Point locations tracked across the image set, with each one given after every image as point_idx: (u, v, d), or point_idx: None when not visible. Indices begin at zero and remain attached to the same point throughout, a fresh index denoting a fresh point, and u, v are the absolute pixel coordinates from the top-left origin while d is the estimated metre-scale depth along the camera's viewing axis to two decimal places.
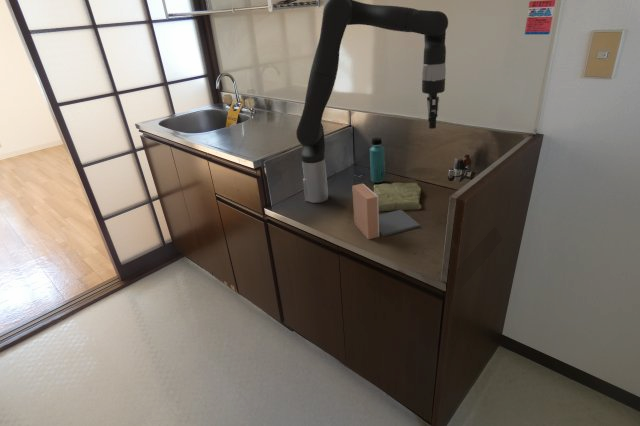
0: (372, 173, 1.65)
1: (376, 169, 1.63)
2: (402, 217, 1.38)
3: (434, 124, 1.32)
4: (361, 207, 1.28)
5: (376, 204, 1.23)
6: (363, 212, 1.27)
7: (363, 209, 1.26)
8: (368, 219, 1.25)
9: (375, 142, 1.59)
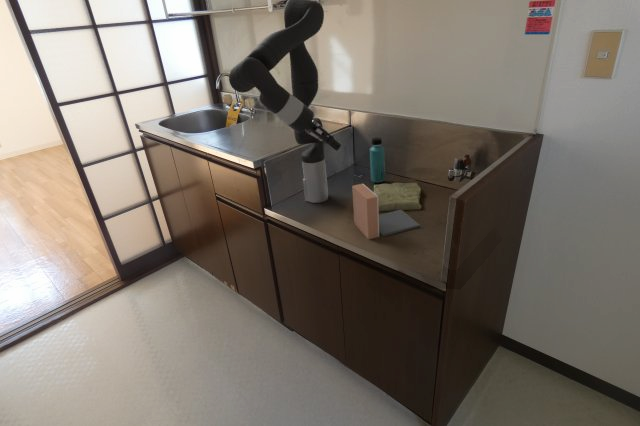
0: (372, 173, 1.65)
1: (376, 169, 1.63)
2: (402, 217, 1.38)
3: None
4: (361, 207, 1.28)
5: (376, 204, 1.23)
6: (363, 212, 1.27)
7: (363, 209, 1.26)
8: (368, 219, 1.25)
9: (375, 142, 1.59)
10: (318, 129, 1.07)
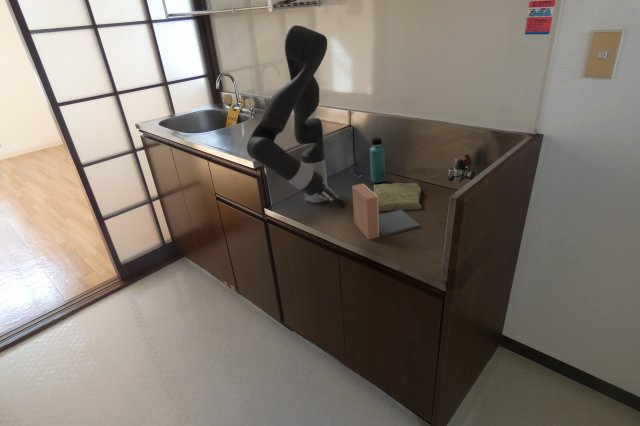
0: (372, 173, 1.65)
1: (376, 169, 1.63)
2: (402, 217, 1.38)
3: None
4: (361, 207, 1.28)
5: (376, 204, 1.23)
6: (363, 212, 1.27)
7: (363, 209, 1.26)
8: (368, 219, 1.25)
9: (375, 142, 1.59)
10: (332, 198, 1.17)
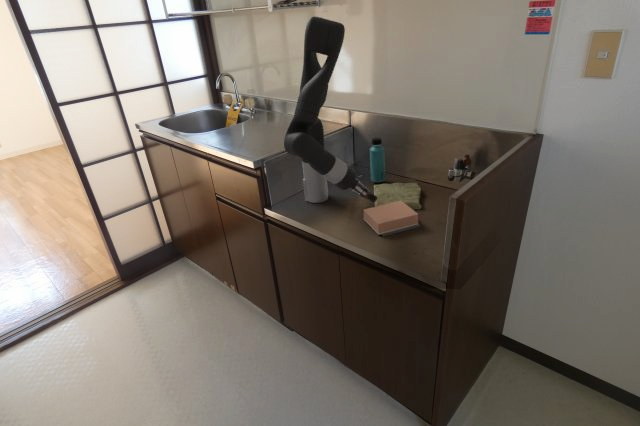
0: (372, 173, 1.65)
1: (376, 169, 1.63)
2: None
3: None
4: (397, 211, 1.33)
5: (411, 224, 1.31)
6: (396, 214, 1.32)
7: (400, 213, 1.32)
8: (398, 219, 1.29)
9: (375, 142, 1.59)
10: (365, 193, 1.20)
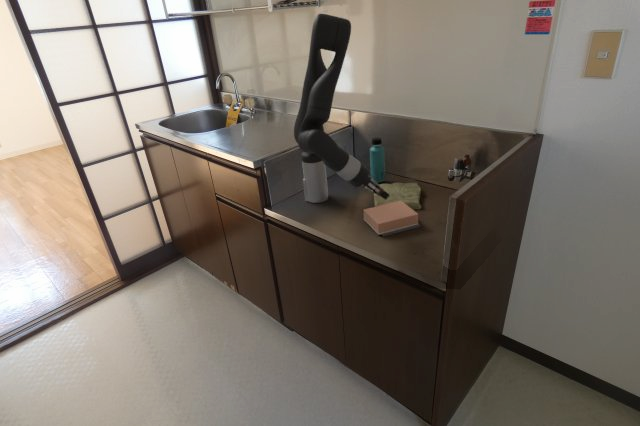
0: (372, 173, 1.65)
1: (376, 169, 1.63)
2: None
3: None
4: (397, 211, 1.33)
5: (411, 224, 1.31)
6: (396, 214, 1.32)
7: (400, 213, 1.32)
8: (398, 219, 1.29)
9: (375, 142, 1.59)
10: (378, 189, 1.21)
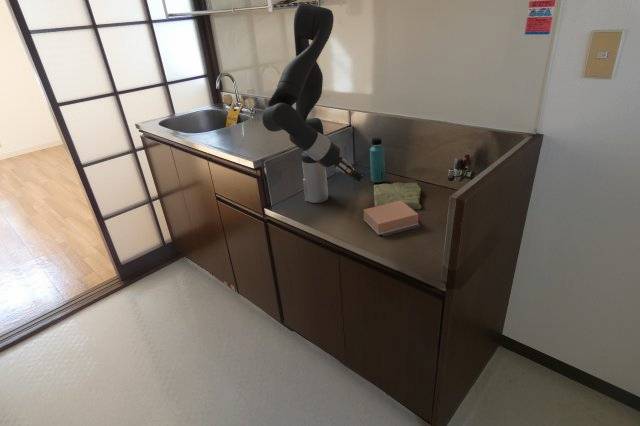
0: (372, 173, 1.65)
1: (376, 169, 1.63)
2: None
3: None
4: (397, 211, 1.33)
5: (411, 224, 1.31)
6: (396, 214, 1.32)
7: (400, 213, 1.32)
8: (398, 219, 1.29)
9: (375, 142, 1.59)
10: (349, 170, 1.15)
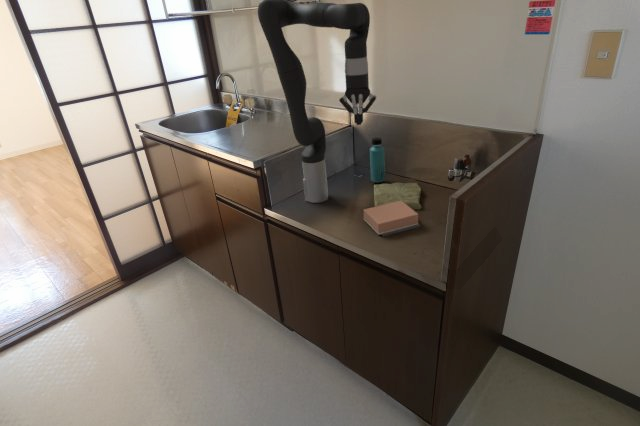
0: (372, 173, 1.65)
1: (376, 169, 1.63)
2: None
3: (354, 120, 1.33)
4: (397, 211, 1.33)
5: (411, 224, 1.31)
6: (396, 214, 1.32)
7: (400, 213, 1.32)
8: (398, 219, 1.29)
9: (375, 142, 1.59)
10: (375, 98, 1.29)
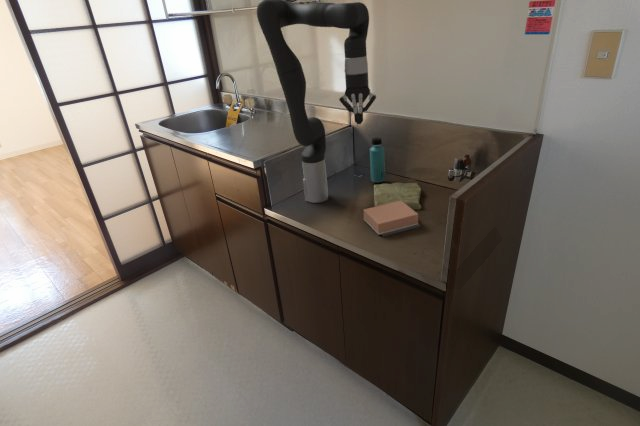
0: (372, 173, 1.65)
1: (376, 169, 1.63)
2: None
3: (355, 119, 1.33)
4: (397, 211, 1.33)
5: (411, 224, 1.31)
6: (396, 214, 1.32)
7: (400, 213, 1.32)
8: (398, 219, 1.29)
9: (375, 142, 1.59)
10: (375, 97, 1.29)
